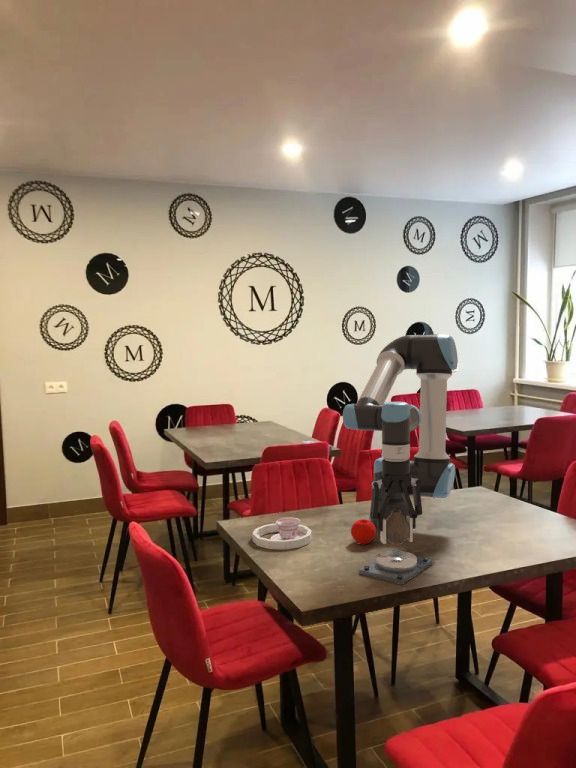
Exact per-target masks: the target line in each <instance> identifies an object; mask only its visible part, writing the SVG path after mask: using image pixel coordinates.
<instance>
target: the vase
mask: <svg viewBox="0 0 576 768" xmlns="http://www.w3.org/2000/svg"><path fill="white" fill-rule="evenodd" d="M408 536H409V525H408V522H407V520H406V519H405V517H404V516H403V515H402V513H401V511H400V510H392V512H391V514H390V515H389V516H388V518H387V519H386V541H388V542H389V543H390V544H392V545H402V544H404V543H405V542H406V541H408V540H407V538H408Z"/></svg>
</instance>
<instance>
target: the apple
mask: <svg viewBox="0 0 576 768" xmlns="http://www.w3.org/2000/svg"><path fill="white" fill-rule="evenodd" d="M350 534H351V537H352V538H353V540H354V541H355V542H356V543H357V544H358V545H362V546H363V545H367V544H370V543H371V541H372V540H373V539H375V537H376V534H377V527H375V525H374V524H373V523H372V522H371V521H369V519H364V518H363V519H358V520H356V521H355V522H354V523H353V524H352V526H351V529H350Z"/></svg>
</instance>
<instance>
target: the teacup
mask: <svg viewBox="0 0 576 768" xmlns="http://www.w3.org/2000/svg"><path fill="white" fill-rule="evenodd" d="M275 524H277V525H278V526H279V527H278V528H279V532H278V533H277V534H273V535H272V536H271V537H270V538H269V539H270V540H290V539H297V538H300V537H302V536H304V535H303V534H300V533H297V532H296V531H297V528H298V525H301V519H300V518H297V517H291V516H290V517H289V516H288V517H282V518H278V519H277V520H275Z"/></svg>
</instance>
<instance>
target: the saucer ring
mask: <svg viewBox="0 0 576 768" xmlns="http://www.w3.org/2000/svg"><path fill="white" fill-rule="evenodd" d="M278 527H279V526H278V525H277V524H276V523H270V524H269V523H268V524H264V525H262V526H259V527H257V528H254V530H253V532H252V535H251V536H252V542H253V543H254V544H255V545H256V546H257V547H260V548H264V549H268V550H291V549H298V548H303V547H304V546H306V545H309V544H311V541H312V538H313V534H312V532H313V531H312V529H310V528H309V527H308V526H306V525H303V524H299V525H298V528H297V531H296V532H297V533H300V534H303V535H304V536H302V537H300V538H297V539H295V538H294V539H290V540H283V539H281V540H270V538H266V537H262V536H264V535H267V534H272V533H279V528H278Z"/></svg>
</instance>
